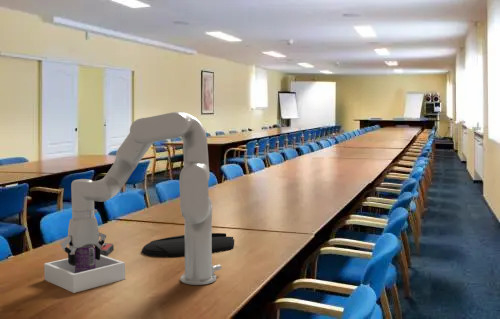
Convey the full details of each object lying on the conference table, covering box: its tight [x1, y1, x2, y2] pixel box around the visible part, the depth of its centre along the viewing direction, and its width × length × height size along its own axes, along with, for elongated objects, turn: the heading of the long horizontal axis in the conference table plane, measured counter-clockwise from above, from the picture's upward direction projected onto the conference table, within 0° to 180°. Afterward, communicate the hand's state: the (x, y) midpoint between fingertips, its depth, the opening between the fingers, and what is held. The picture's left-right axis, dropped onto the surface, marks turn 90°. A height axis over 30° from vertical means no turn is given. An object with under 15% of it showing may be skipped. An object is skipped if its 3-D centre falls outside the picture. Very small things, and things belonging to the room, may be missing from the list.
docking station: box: [141, 232, 235, 258], centre depth 234 cm, size 25×41×5 cm, turn 117°
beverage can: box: [74, 244, 96, 273], centre depth 190 cm, size 7×7×12 cm
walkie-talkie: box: [100, 242, 115, 257], centre depth 223 cm, size 9×4×20 cm
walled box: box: [43, 254, 126, 294], centre depth 191 cm, size 20×20×6 cm
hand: (84, 262), depth 190 cm, fingers open, 9 cm apart
